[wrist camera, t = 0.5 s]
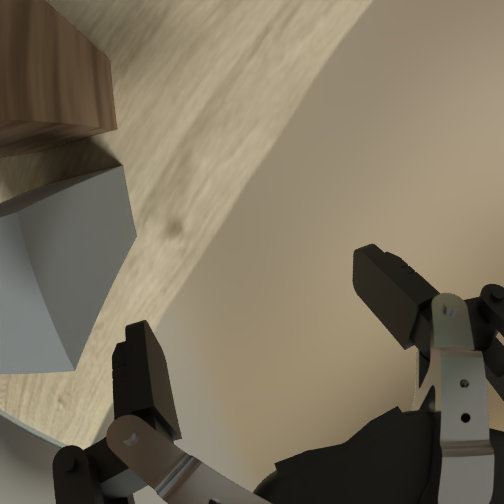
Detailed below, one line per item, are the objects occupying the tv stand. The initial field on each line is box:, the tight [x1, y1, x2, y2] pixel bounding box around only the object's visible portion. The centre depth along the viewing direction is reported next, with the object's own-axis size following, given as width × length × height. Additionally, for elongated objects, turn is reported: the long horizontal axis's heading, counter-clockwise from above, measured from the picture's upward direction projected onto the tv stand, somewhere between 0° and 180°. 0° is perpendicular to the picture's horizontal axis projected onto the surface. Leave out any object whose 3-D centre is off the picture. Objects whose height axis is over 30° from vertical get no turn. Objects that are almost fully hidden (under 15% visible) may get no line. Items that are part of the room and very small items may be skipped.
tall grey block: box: [0, 166, 137, 374], centre depth 22 cm, size 10×8×23 cm
